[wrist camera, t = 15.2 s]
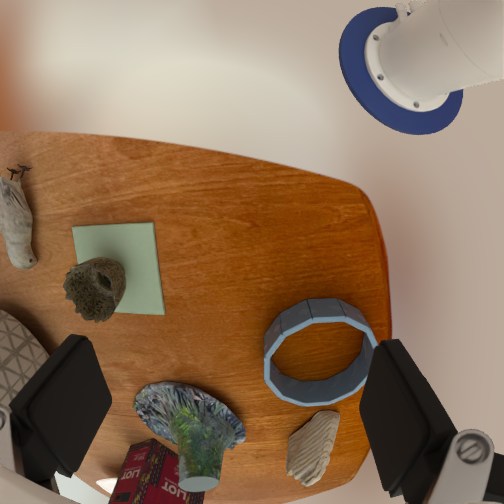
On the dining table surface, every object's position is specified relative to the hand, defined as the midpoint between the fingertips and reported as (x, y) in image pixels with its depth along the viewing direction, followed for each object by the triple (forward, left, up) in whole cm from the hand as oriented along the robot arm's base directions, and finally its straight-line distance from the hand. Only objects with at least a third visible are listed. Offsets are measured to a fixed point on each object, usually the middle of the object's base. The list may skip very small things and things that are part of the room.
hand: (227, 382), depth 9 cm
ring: (+19, +9, -28) cm, 35 cm away
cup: (+7, -19, -28) cm, 34 cm away
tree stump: (+35, -12, -28) cm, 47 cm away
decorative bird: (-2, -35, -28) cm, 45 cm away
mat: (+7, -19, -28) cm, 35 cm away
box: (+54, -20, -28) cm, 64 cm away
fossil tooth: (+40, +10, -28) cm, 50 cm away
